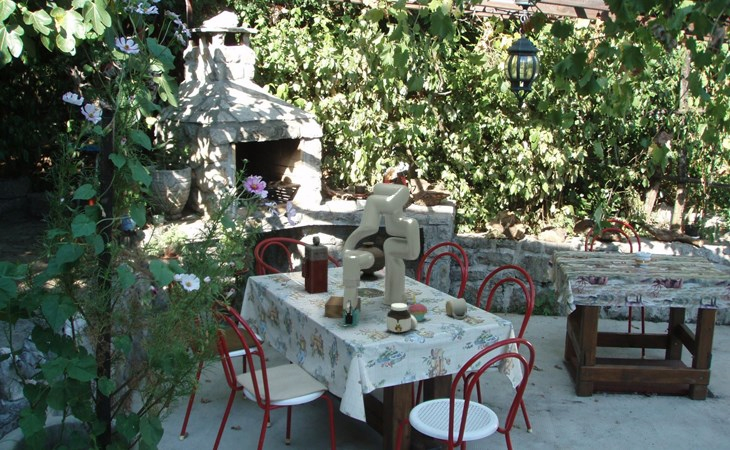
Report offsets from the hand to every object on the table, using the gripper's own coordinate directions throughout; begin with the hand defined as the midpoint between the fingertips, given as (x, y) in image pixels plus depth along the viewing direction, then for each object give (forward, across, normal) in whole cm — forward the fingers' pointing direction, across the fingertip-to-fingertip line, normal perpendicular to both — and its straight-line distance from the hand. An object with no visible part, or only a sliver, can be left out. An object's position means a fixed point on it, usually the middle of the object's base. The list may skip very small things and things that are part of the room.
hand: (350, 320), depth 338 cm
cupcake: (+2, -12, +28) cm, 31 cm away
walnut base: (+2, -14, -6) cm, 15 cm away
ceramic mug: (+2, -21, +46) cm, 50 cm away
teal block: (+2, 0, 0) cm, 2 cm away
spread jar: (+2, +5, +23) cm, 24 cm away
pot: (+2, -80, -4) cm, 80 cm away
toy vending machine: (+2, -49, -27) cm, 56 cm away
